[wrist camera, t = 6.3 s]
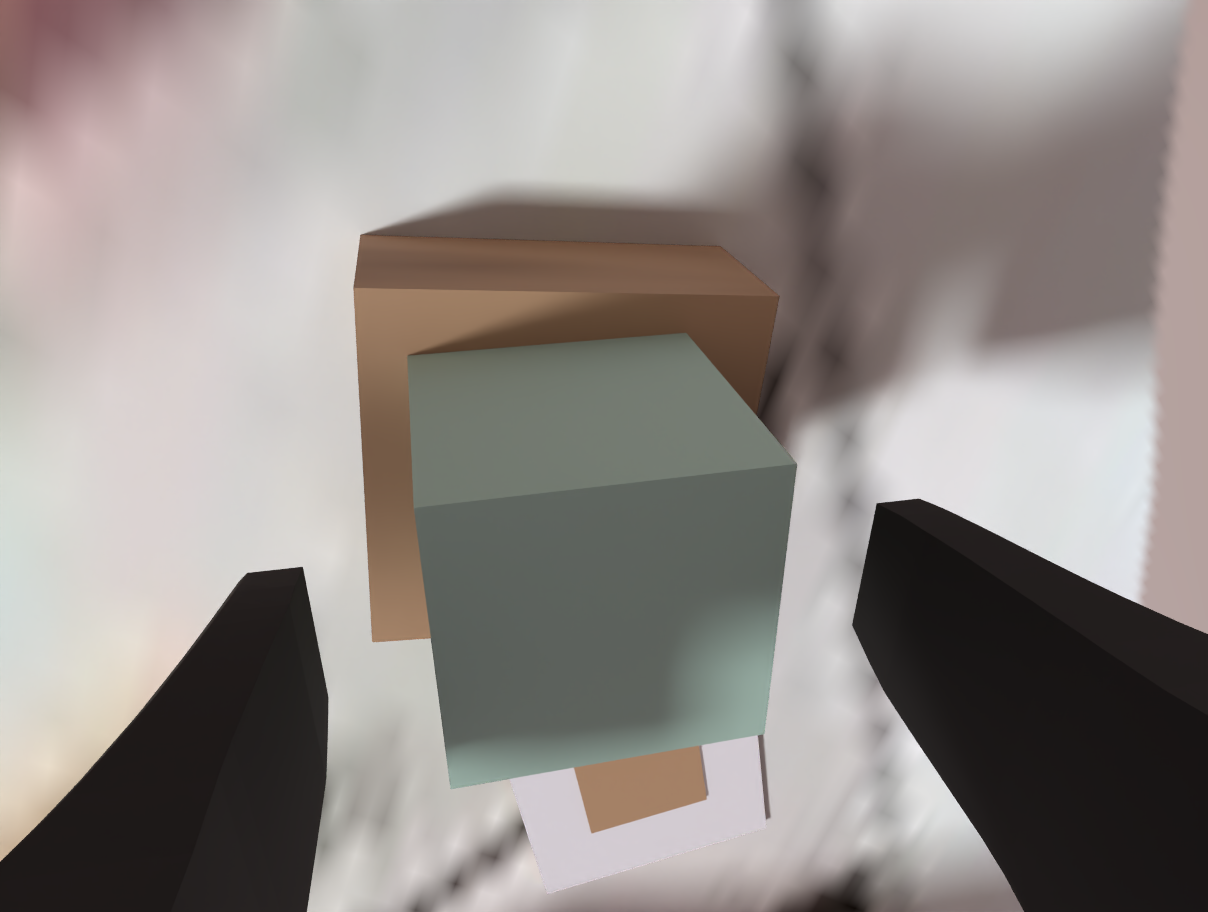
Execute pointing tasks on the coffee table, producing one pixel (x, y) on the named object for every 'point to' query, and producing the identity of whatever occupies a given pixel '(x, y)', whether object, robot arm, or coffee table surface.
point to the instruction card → (639, 809)
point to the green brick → (594, 551)
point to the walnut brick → (510, 319)
